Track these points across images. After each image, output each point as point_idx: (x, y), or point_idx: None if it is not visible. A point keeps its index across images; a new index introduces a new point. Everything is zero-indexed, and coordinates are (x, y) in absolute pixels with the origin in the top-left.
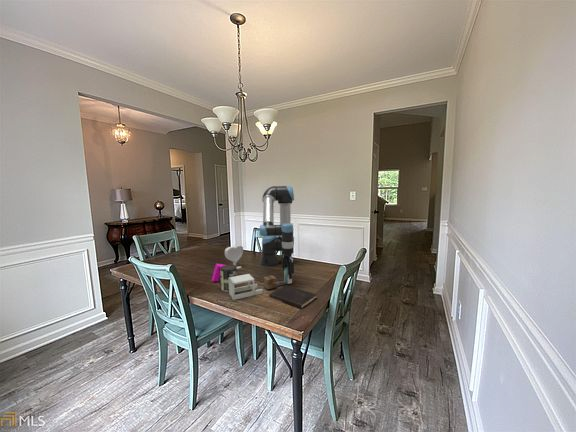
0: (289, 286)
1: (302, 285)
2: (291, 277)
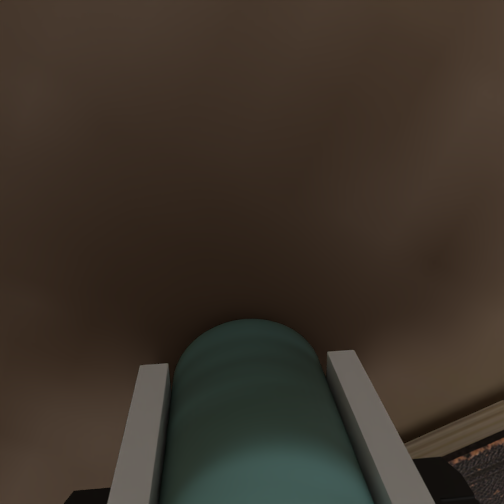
0: (490, 458)
1: (477, 119)
2: (470, 501)
